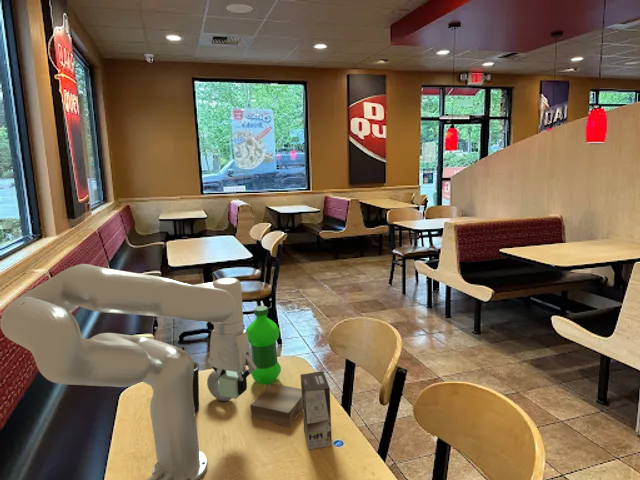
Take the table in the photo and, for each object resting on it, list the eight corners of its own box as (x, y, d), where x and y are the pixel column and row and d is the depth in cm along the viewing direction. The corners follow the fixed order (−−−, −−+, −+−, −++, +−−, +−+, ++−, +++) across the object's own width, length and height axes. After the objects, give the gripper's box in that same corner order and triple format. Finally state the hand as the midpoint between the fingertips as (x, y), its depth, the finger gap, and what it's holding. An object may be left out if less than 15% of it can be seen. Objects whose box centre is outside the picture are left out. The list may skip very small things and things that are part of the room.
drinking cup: (176, 406, 132) (168, 344, 128) (202, 400, 135) (196, 339, 130) (176, 420, 125) (168, 355, 121) (204, 414, 128) (197, 350, 123)
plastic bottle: (285, 373, 149) (281, 303, 143) (275, 390, 139) (270, 315, 133) (257, 371, 151) (252, 301, 146) (245, 387, 141) (239, 313, 136)
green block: (236, 398, 115) (234, 381, 114) (220, 395, 117) (218, 377, 116) (246, 389, 120) (245, 372, 119) (230, 386, 122) (229, 369, 121)
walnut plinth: (289, 426, 121) (288, 413, 120) (251, 417, 125) (250, 404, 124) (307, 402, 131) (307, 390, 131) (272, 395, 136) (271, 383, 135)
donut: (240, 399, 134) (237, 369, 132) (234, 405, 131) (231, 375, 129) (213, 393, 138) (210, 364, 136) (206, 399, 135) (203, 369, 133)
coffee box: (332, 446, 112) (330, 388, 108) (307, 450, 111) (304, 391, 108) (326, 424, 121) (324, 370, 117) (303, 427, 120) (299, 373, 116)
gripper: (192, 326, 115) (198, 391, 118) (249, 335, 108) (253, 403, 112) (210, 317, 121) (215, 378, 125) (264, 324, 115) (268, 389, 118)
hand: (233, 389), depth 118 cm, fingers closed on green block, 5 cm apart
